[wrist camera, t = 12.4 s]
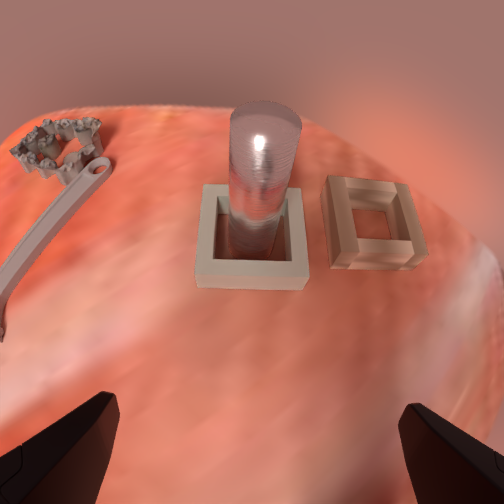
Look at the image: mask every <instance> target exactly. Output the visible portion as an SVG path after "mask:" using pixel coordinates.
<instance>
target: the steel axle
mask: <svg viewBox="0 0 504 504" xmlns="http://www.w3.org/2000/svg"><path fill="white" fill-rule="evenodd" d="M301 129H302V122H301V119H300V118H299V116H298V115H297V114H296V113H295V112H294V111H293V110H291V109H290V108H288V107H286V106H284V105H282V104H279V103H275V102H270V101H253V102H248V103H245V104H243V105H241V106H239V107H237V108H236V109H235V110H234V111H233V113H232V114H231V117H230V147H229V209H228V247H229V250H230V253H231V254H232V256H233V257H234V258H235V259H237V260H260V261H264V260H265V259H267V258H268V256H269V255H270V254H271V251H272V248H273V244H274V240H275V236H276V232H277V228H278V224H279V220H280V216H281V212H282V208H283V204H284V200H285V196H286V192H287V188H288V184H289V179H290V175H291V171H292V167H293V163H294V159H295V155H296V150H297V146H298V142H299V138H300V134H301Z"/></svg>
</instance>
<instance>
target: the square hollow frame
mask: <svg viewBox="0 0 504 504" xmlns="http://www.w3.org/2000/svg"><path fill="white" fill-rule="evenodd" d="M228 209H229V185H225V184H203V193H202V201H201V210H200V219H199V229H198V239H197V249H196V260H195V272H194V275H195V279H196V283H197V288H221V289H256V290H303V288H304V287H305V285H306V283H307V281H308V279H309V278H310V274H309V262H308V251H307V241H306V231H305V221H304V212H303V203H302V194H301V188H291V187H288V188H287V192H286V196H285V200H284V204H283V208H282V212H281V216H283V224H284V241H285V259H286V261H260V260H228V259H215V250H216V234H217V219H218V214H228Z"/></svg>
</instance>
